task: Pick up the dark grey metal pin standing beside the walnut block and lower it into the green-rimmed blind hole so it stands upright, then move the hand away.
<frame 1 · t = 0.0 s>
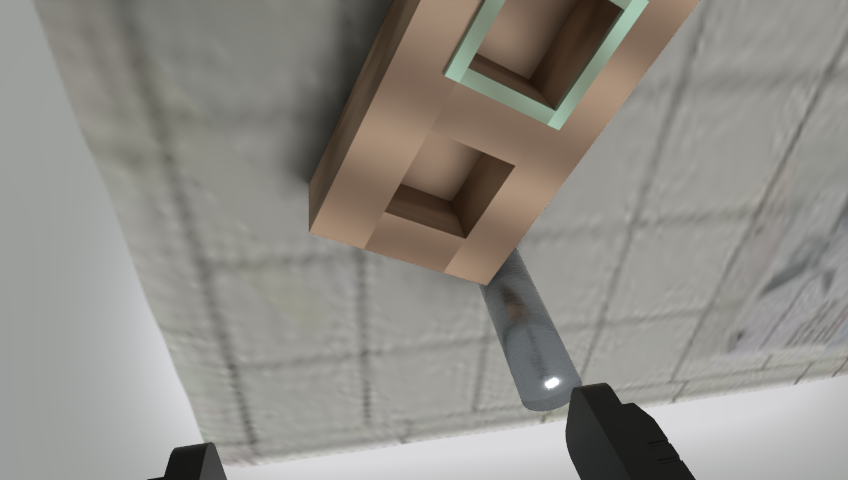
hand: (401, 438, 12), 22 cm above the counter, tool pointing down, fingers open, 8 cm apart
pin: (495, 259, 40), on the counter
bore block: (469, 82, 31), on the counter
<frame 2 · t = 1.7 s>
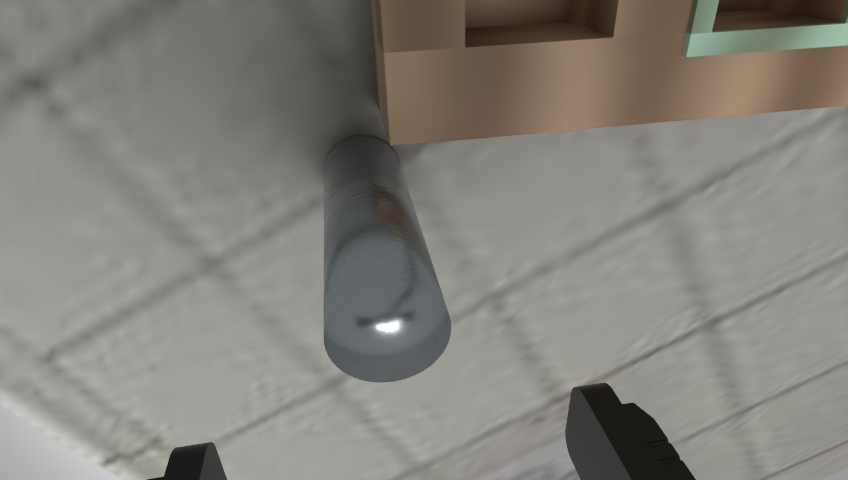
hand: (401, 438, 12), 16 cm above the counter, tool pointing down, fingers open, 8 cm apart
pin: (362, 171, 25), on the counter
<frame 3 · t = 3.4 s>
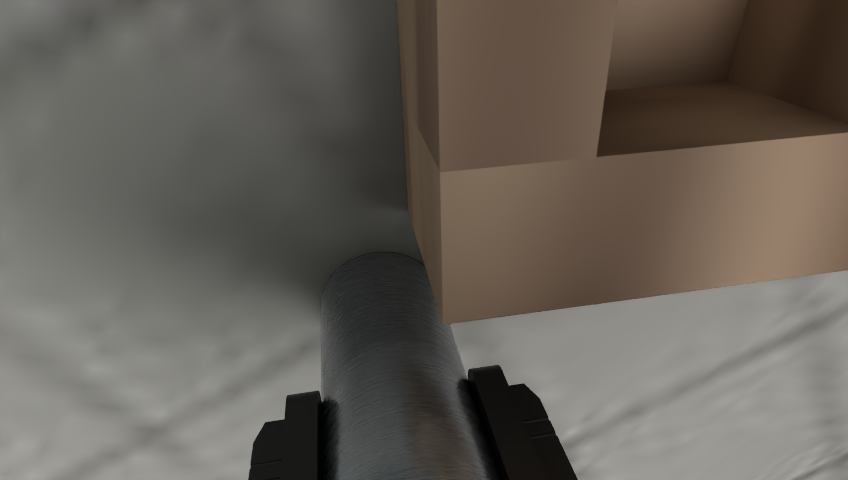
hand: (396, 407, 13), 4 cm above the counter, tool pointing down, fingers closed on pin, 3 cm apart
pin: (380, 302, 16), on the counter, touching gripper
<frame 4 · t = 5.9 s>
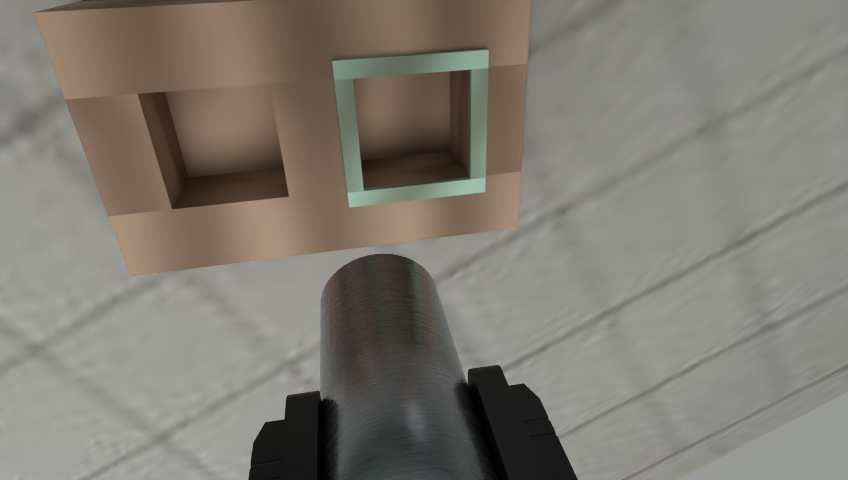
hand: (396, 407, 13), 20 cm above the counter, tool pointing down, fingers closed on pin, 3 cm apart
pin: (380, 303, 16), point 16 cm above the counter, touching gripper
bore block: (317, 110, 29), on the counter
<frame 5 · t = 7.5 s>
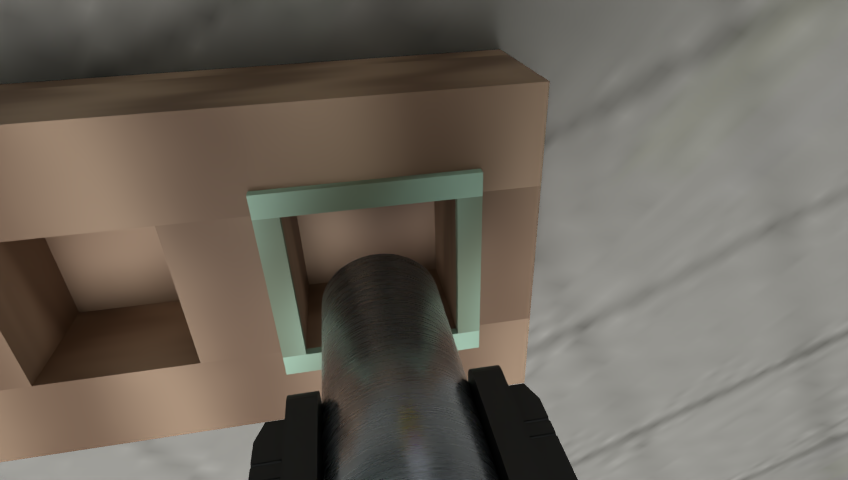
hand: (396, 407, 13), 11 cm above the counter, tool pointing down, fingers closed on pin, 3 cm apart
pin: (381, 303, 16), point 7 cm above the counter, touching gripper
bore block: (254, 221, 21), on the counter
when the fingers open (7 cm above the counter, at t = 8.6 s): pin drops 1 cm, resting on bore block.
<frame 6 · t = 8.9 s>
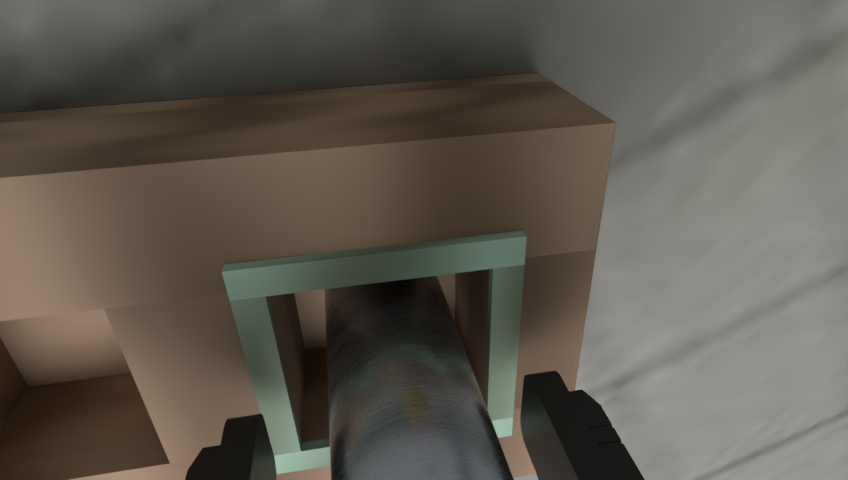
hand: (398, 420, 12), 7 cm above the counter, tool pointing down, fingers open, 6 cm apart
pin: (379, 276, 17), point 1 cm above the counter, touching bore block
bore block: (240, 276, 18), on the counter
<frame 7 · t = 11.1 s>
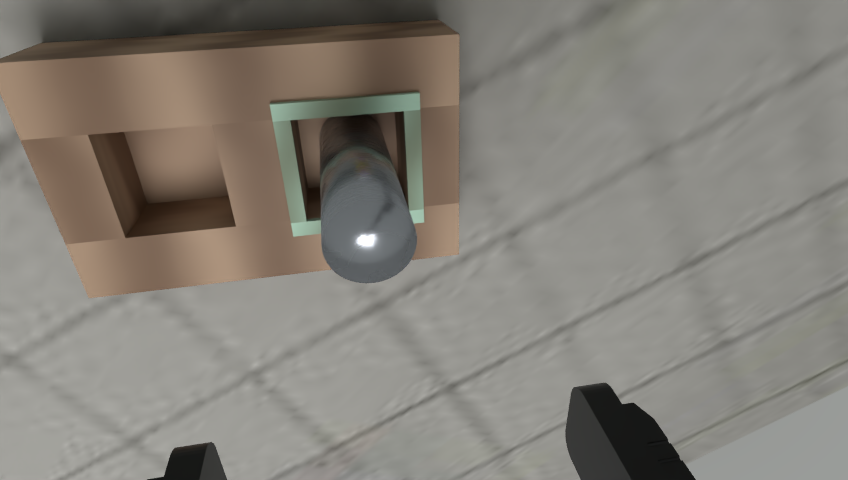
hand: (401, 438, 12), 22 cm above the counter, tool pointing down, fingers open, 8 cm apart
pin: (351, 139, 30), point 1 cm above the counter, touching bore block
bore block: (270, 141, 30), on the counter
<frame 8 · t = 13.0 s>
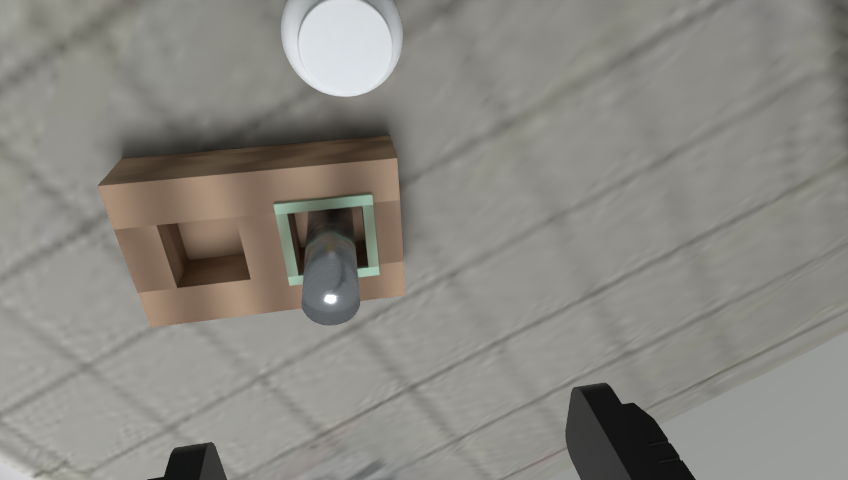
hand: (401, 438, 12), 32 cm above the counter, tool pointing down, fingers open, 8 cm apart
pin: (330, 215, 43), point 1 cm above the counter, touching bore block
supplement bottle: (338, 14, 37), on the counter
bore block: (273, 215, 43), on the counter
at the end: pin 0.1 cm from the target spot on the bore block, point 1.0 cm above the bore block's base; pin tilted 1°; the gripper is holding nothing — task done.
